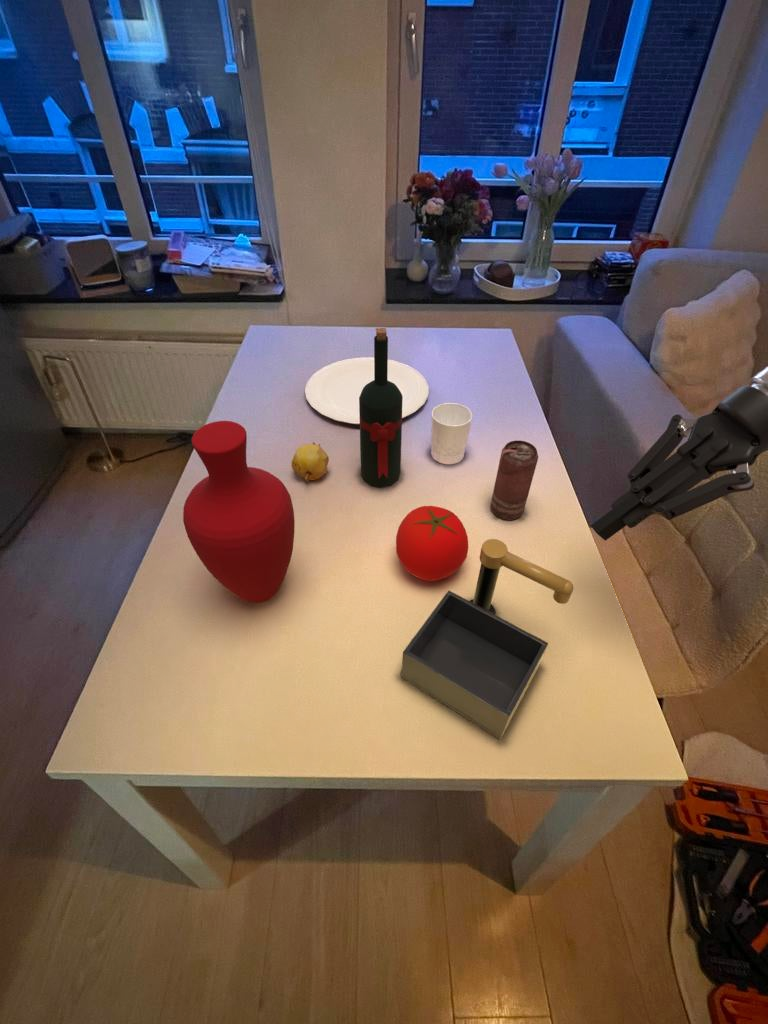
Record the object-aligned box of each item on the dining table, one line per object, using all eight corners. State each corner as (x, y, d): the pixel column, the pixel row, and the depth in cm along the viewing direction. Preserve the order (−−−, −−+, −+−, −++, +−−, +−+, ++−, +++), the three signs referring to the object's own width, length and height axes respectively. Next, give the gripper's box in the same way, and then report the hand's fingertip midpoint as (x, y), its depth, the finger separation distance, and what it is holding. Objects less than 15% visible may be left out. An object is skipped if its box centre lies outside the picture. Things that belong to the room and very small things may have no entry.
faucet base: (486, 633, 78) (500, 580, 69) (457, 618, 80) (467, 564, 71) (500, 611, 81) (515, 557, 72) (472, 597, 83) (483, 542, 74)
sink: (500, 740, 67) (509, 717, 63) (401, 677, 73) (402, 652, 69) (537, 668, 74) (548, 642, 70) (444, 616, 81) (448, 590, 76)
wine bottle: (362, 496, 99) (357, 350, 78) (360, 462, 107) (355, 320, 86) (403, 494, 100) (410, 348, 79) (398, 460, 107) (403, 318, 86)
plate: (344, 353, 139) (344, 346, 137) (447, 380, 129) (447, 373, 128) (281, 409, 120) (279, 402, 119) (395, 444, 111) (395, 437, 110)
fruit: (324, 470, 96) (336, 437, 103) (287, 460, 95) (301, 427, 102) (318, 495, 101) (329, 462, 108) (283, 485, 100) (297, 452, 107)
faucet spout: (474, 565, 72) (477, 550, 69) (485, 550, 74) (488, 535, 71) (563, 610, 67) (569, 595, 64) (572, 592, 69) (579, 577, 66)
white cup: (431, 467, 106) (435, 426, 99) (425, 443, 111) (428, 403, 104) (469, 465, 106) (476, 424, 99) (462, 442, 112) (467, 401, 105)
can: (483, 502, 99) (494, 442, 89) (513, 495, 100) (528, 436, 90) (497, 524, 95) (511, 464, 85) (529, 517, 96) (546, 457, 86)
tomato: (469, 591, 84) (477, 548, 77) (396, 592, 84) (397, 548, 76) (460, 536, 92) (467, 492, 85) (394, 536, 92) (395, 493, 85)
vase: (192, 605, 82) (126, 453, 61) (247, 541, 91) (207, 391, 70) (272, 640, 77) (233, 489, 56) (321, 568, 87) (303, 417, 66)
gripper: (823, 455, 58) (638, 580, 66) (737, 392, 67) (584, 510, 75) (812, 422, 53) (614, 561, 62) (721, 360, 62) (560, 489, 70)
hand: (598, 533), depth 68 cm, fingers closed
